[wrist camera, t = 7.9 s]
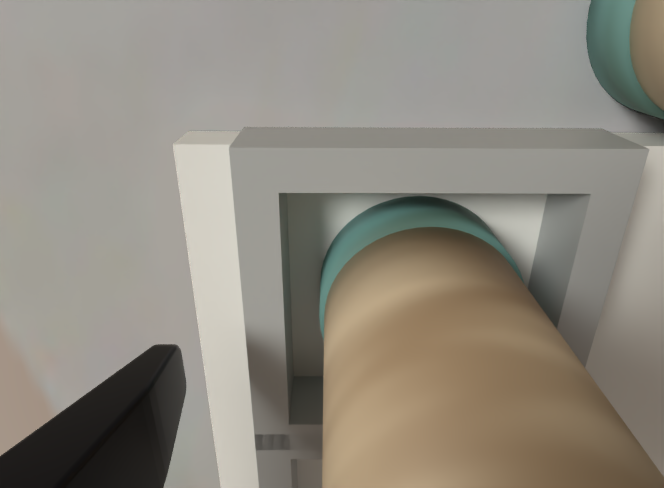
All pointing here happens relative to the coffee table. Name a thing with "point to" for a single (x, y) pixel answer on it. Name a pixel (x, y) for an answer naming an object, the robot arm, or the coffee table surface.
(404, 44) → the coffee table surface
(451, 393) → the tan teal rounded cylinder
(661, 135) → the socket board
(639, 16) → the tan domed cylinder
